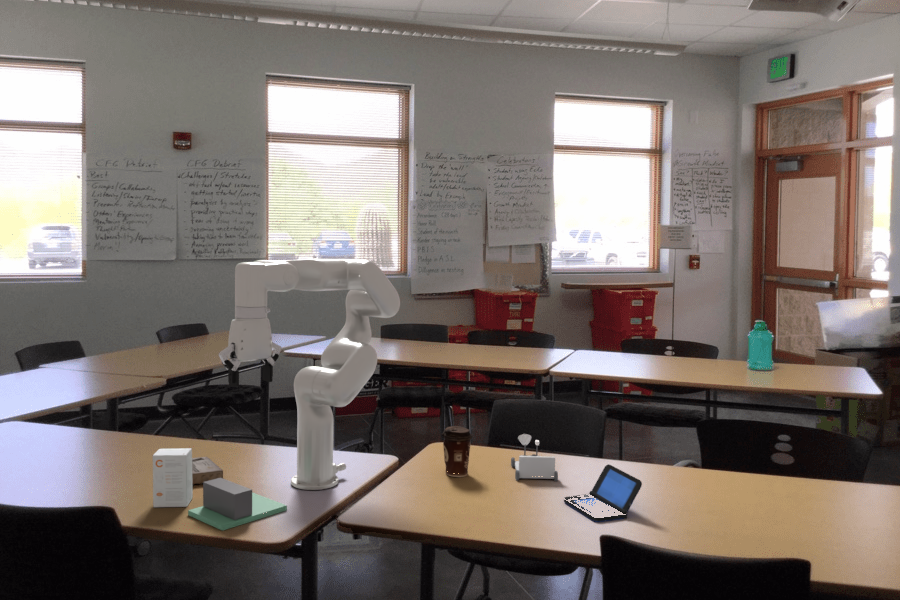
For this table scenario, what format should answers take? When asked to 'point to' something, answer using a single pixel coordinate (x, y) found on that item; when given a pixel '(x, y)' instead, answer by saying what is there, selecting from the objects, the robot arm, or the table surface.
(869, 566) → the table surface
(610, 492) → the laptop
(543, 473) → the toy rover
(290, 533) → the table surface
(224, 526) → the header board
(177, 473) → the small box
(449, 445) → the coffee cup
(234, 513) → the block
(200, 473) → the box
